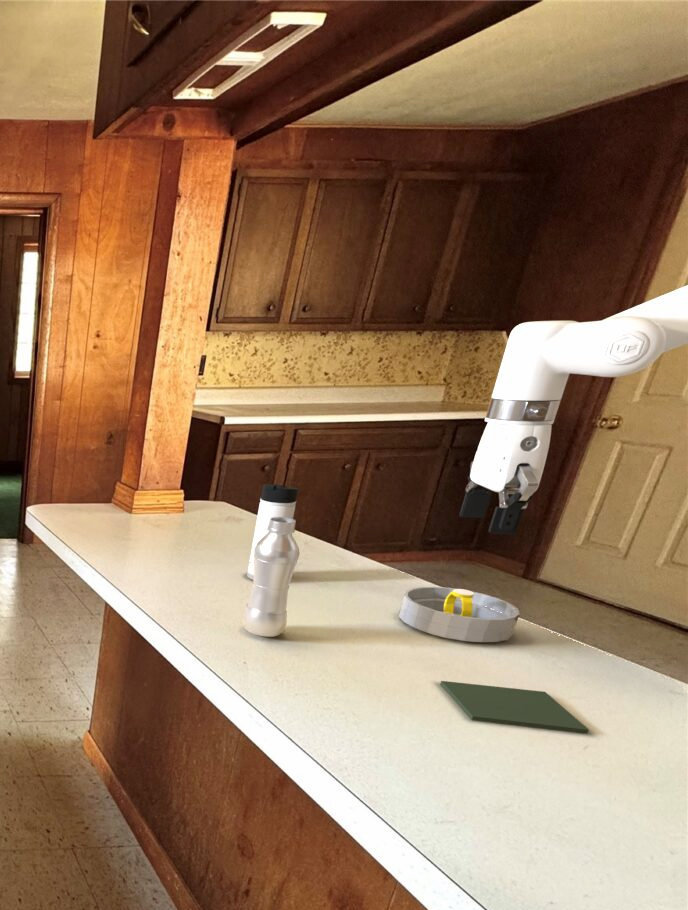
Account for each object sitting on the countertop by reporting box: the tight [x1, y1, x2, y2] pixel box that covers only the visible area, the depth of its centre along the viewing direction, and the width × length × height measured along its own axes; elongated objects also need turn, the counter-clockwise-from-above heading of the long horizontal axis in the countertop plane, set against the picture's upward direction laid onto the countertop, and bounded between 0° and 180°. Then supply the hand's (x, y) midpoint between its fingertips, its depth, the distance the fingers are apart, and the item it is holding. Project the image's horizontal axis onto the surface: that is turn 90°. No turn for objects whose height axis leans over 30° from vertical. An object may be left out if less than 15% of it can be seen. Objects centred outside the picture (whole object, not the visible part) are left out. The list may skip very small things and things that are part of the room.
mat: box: [439, 680, 590, 735], centre depth 89 cm, size 12×10×1 cm
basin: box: [398, 586, 520, 643], centre depth 113 cm, size 15×15×4 cm
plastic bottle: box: [242, 517, 300, 638], centre depth 110 cm, size 6×7×20 cm
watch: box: [443, 588, 474, 617], centre depth 112 cm, size 6×3×6 cm, turn 164°
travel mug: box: [246, 483, 299, 581], centre depth 134 cm, size 6×7×20 cm
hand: (485, 525), depth 103 cm, fingers open, 9 cm apart
